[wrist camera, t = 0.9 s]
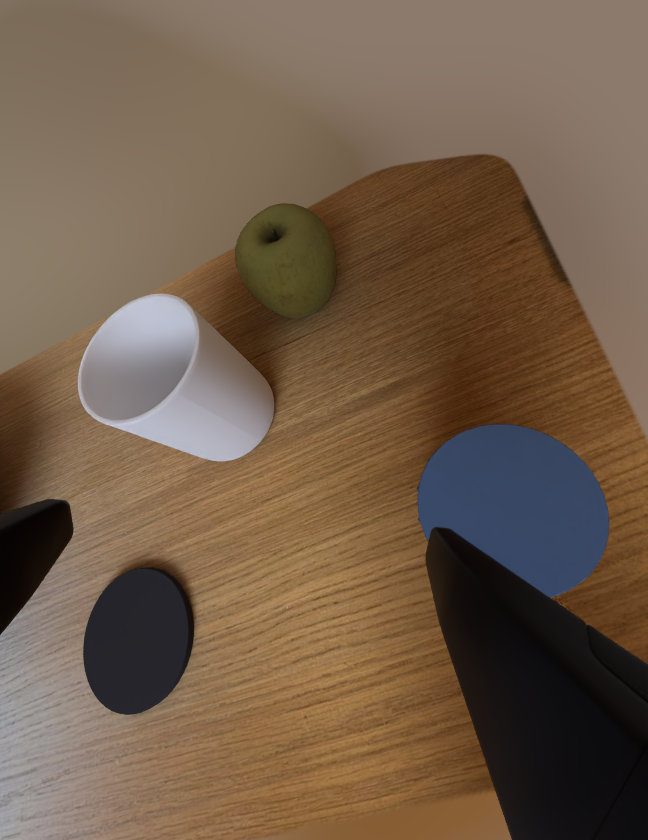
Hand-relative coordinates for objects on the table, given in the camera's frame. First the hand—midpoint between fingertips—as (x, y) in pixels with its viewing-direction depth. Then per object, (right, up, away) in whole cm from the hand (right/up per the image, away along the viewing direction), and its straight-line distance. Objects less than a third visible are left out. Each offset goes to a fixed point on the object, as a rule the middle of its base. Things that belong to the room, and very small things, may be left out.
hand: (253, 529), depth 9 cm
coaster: (-12, -13, +16) cm, 24 cm away
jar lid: (+9, -1, +5) cm, 10 cm away
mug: (-6, +5, +21) cm, 22 cm away
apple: (0, +14, +22) cm, 26 cm away
